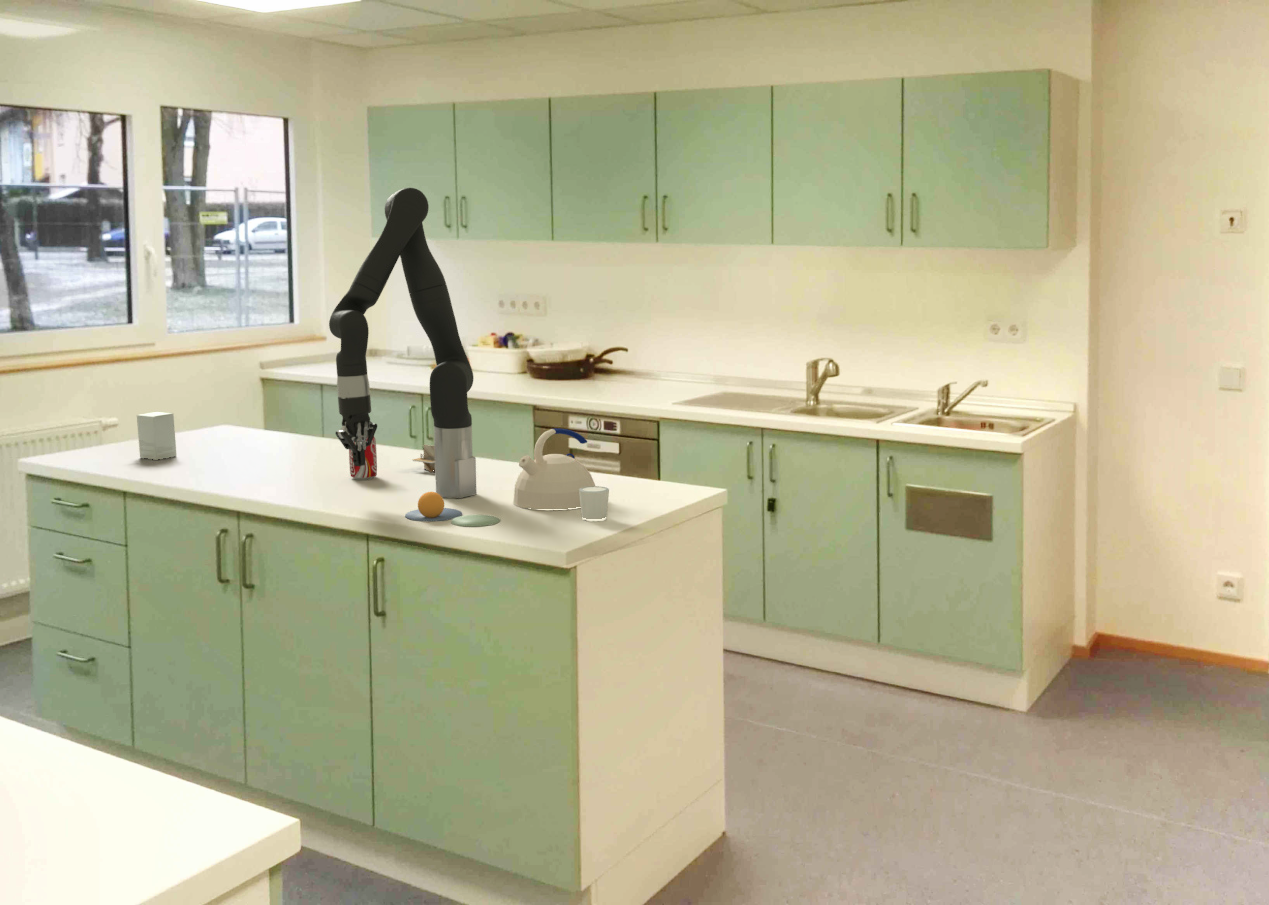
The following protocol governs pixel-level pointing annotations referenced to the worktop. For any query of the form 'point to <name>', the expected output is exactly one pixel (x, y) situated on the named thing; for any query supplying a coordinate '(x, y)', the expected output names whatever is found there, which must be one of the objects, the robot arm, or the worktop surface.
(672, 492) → the worktop surface
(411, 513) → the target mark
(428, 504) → the ball
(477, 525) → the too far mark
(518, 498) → the kettle
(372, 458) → the soda can
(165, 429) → the supplement box
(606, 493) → the shot glass
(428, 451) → the architectural model
